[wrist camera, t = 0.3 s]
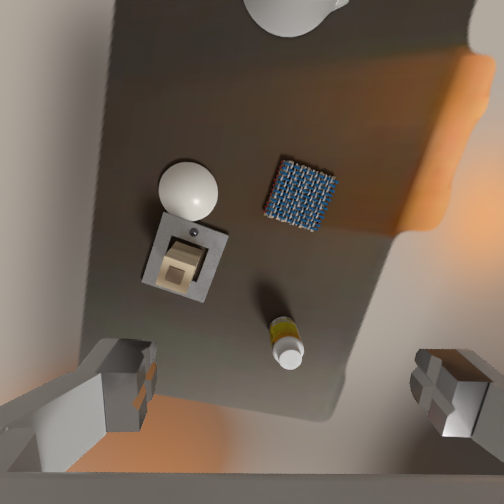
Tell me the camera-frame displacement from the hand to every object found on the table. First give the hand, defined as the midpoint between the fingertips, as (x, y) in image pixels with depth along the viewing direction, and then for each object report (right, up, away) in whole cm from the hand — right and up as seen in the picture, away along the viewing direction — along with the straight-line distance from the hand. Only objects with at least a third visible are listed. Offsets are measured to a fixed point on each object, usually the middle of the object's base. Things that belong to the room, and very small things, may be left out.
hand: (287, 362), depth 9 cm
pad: (-12, +14, +43) cm, 47 cm away
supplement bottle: (+5, -12, +52) cm, 53 cm away
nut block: (-13, +2, +47) cm, 48 cm away
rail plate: (-13, +2, +47) cm, 48 cm away
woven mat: (+7, +13, +45) cm, 47 cm away
